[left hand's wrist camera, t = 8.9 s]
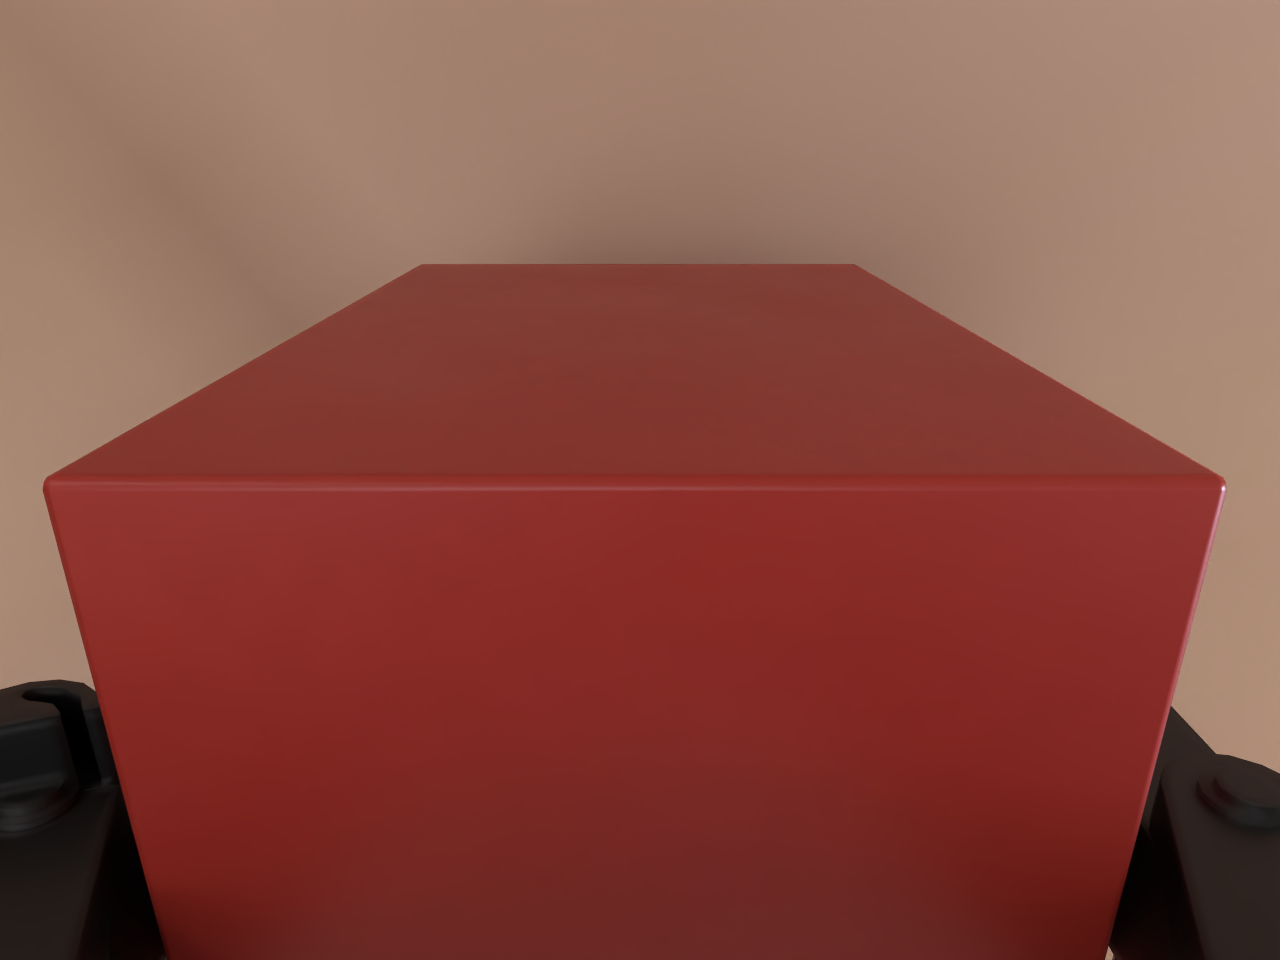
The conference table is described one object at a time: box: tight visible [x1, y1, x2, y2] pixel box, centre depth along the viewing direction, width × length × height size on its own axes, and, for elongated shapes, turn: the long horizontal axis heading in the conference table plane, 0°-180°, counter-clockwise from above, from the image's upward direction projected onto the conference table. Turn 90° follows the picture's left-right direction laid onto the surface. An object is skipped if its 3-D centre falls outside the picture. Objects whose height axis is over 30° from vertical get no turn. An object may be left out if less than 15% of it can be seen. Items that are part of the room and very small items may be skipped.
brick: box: [43, 264, 1227, 960], centre depth 11 cm, size 7×8×10 cm
